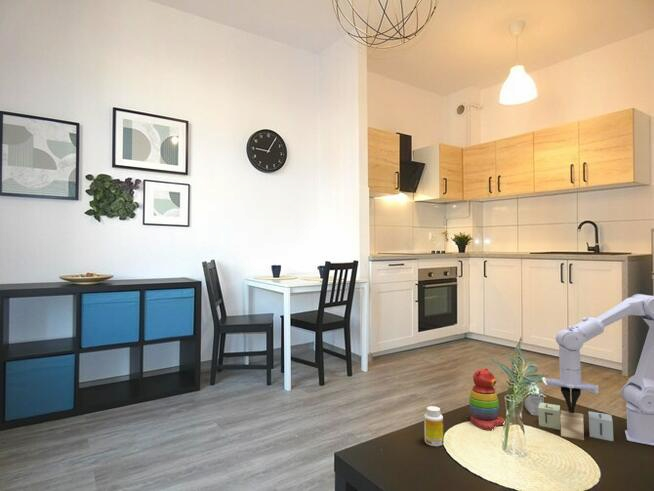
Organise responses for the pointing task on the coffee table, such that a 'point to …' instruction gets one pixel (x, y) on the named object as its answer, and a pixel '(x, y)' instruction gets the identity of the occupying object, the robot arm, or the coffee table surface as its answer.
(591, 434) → the pale grey cube
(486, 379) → the stacking bear
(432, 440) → the supplement bottle
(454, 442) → the coffee table surface
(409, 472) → the coffee table surface
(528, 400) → the gray thick disc
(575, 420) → the plain birch block
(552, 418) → the green letter cube
